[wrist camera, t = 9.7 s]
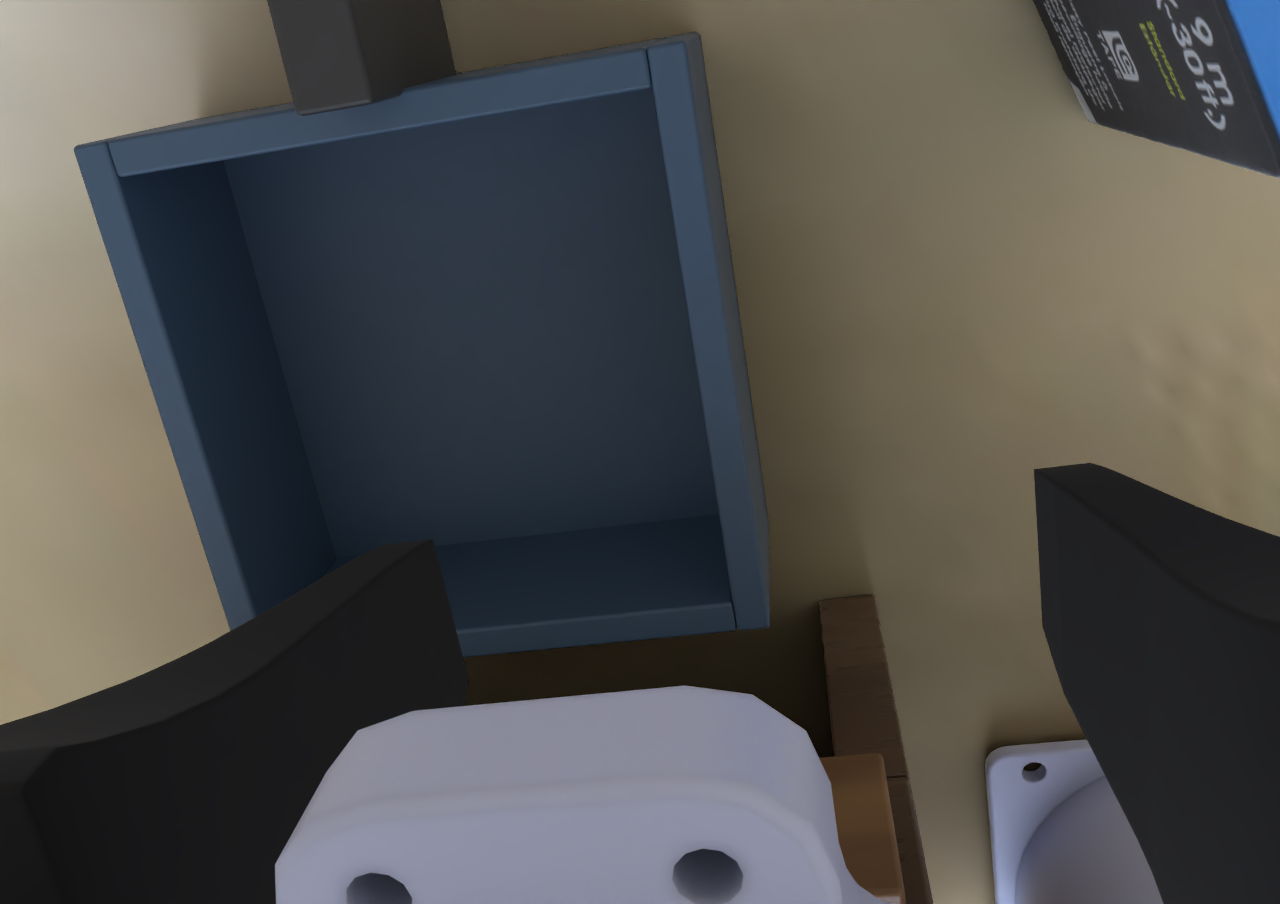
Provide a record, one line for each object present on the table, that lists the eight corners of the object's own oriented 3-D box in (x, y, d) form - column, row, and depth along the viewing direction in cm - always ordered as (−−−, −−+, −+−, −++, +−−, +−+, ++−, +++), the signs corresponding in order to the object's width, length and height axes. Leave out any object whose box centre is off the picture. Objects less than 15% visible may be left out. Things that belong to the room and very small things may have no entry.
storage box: (648, -341, 19) (602, -475, 14) (769, 523, 25) (771, 674, 19) (98, -218, 21) (-141, -296, 15) (326, 572, 26) (210, 726, 21)
